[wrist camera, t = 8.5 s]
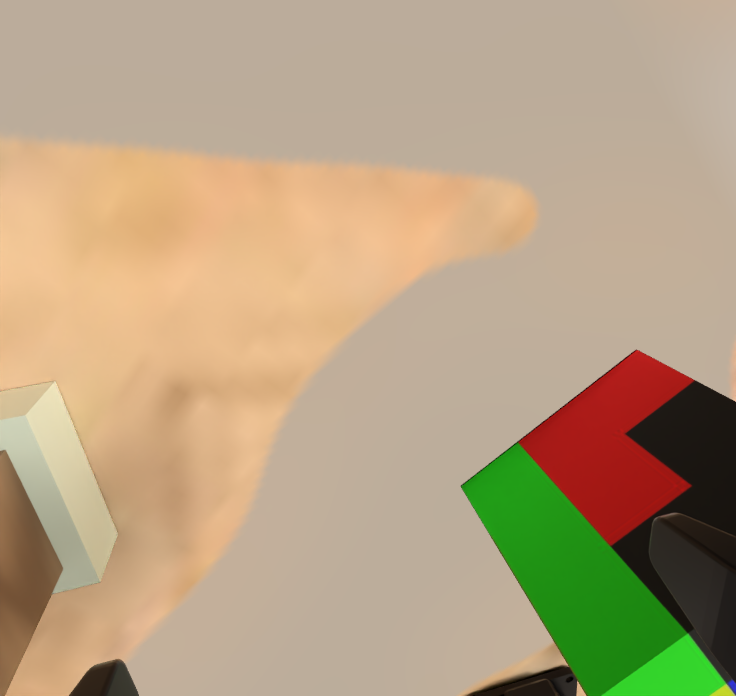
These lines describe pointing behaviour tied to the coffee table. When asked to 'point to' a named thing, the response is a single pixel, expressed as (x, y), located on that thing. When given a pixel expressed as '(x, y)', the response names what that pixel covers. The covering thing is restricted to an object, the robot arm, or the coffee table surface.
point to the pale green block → (58, 481)
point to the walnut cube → (21, 571)
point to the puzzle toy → (615, 523)
